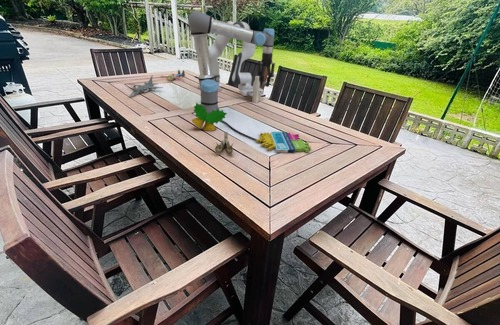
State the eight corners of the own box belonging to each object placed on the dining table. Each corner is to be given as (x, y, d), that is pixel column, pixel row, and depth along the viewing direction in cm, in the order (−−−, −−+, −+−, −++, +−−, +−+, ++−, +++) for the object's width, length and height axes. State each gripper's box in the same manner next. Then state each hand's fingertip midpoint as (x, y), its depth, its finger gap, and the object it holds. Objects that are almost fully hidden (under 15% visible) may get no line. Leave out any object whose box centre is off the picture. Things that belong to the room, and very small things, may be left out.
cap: (261, 85, 197) (261, 82, 196) (263, 84, 201) (263, 81, 200) (266, 86, 196) (266, 83, 195) (268, 85, 199) (269, 82, 198)
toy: (193, 71, 287) (180, 75, 262) (193, 77, 291) (181, 82, 265) (170, 68, 292) (155, 72, 266) (170, 75, 296) (156, 79, 270)
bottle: (254, 100, 227) (256, 75, 217) (259, 101, 224) (261, 76, 214) (250, 101, 223) (252, 76, 213) (255, 102, 220) (257, 77, 210)
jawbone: (234, 135, 144) (233, 125, 135) (233, 160, 138) (232, 151, 129) (217, 135, 144) (216, 125, 135) (216, 160, 138) (214, 150, 129)
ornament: (218, 133, 171) (224, 110, 169) (221, 134, 163) (227, 111, 161) (186, 125, 162) (192, 101, 160) (189, 126, 155) (195, 101, 153)
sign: (313, 150, 142) (258, 149, 139) (312, 153, 143) (258, 152, 140) (301, 132, 164) (254, 130, 161) (301, 134, 165) (254, 133, 162)
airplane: (123, 87, 237) (120, 75, 231) (158, 84, 250) (157, 74, 245) (127, 99, 208) (125, 87, 203) (167, 96, 221) (166, 84, 216)
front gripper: (280, 53, 186) (277, 86, 197) (259, 51, 194) (257, 83, 205) (275, 54, 180) (272, 88, 192) (254, 51, 188) (252, 84, 200)
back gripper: (238, 87, 224) (245, 91, 214) (259, 86, 233) (267, 90, 223) (238, 94, 228) (245, 99, 217) (258, 93, 236) (266, 97, 226)
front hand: (264, 85), depth 198 cm, fingers closed on cap, 4 cm apart
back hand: (256, 94), depth 220 cm, fingers closed on bottle, 5 cm apart
